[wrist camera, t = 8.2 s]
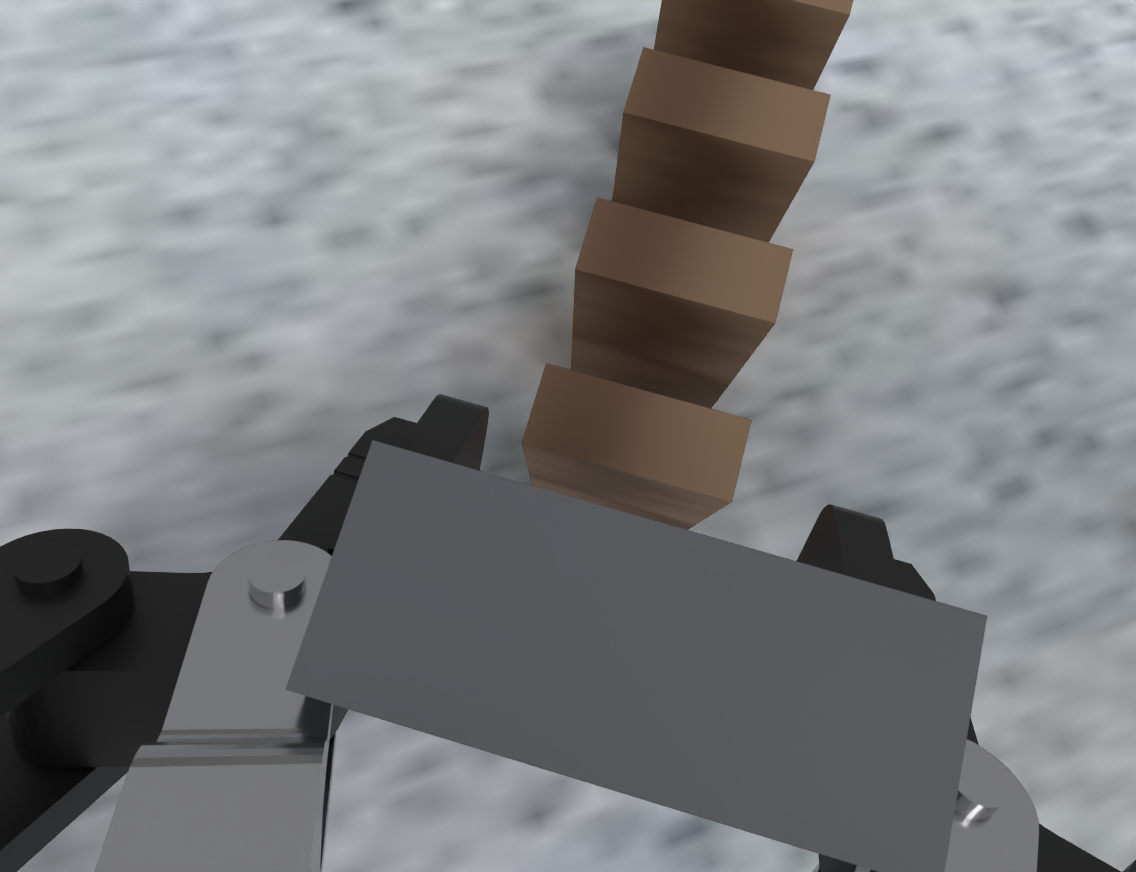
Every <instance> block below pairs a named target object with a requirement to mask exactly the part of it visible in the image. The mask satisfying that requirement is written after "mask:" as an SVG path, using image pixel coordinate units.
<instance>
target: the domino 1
mask: <svg viewBox="0 0 1136 872" xmlns="http://www.w3.org/2000/svg"><path fill="white" fill-rule="evenodd" d="M852 3H853V0H662V3H661V9H660V15H659V21H658V27H657V33H656V39H655V45H654V50H656V51H660V52H664V53H668V54H672V55H676V56H680V57H684V58H688V59H692V60H696V61H700V62H704V63H707V64H711V65H715V66H719V67H723V68H727V69H731V70H735V71H739V72H743V73H747V74H751V75H755V76H759V77H763V78H767V79H770V80H774V81H778V82H782V83H786V84H790V85H794V86H798V87H802V88H806V89H810V90H813V89H814V87H815V85H816V83H817V81H818V79H819V77H820V75H821V73H822V71H823V69H824V67H825V65H826V63H827V61H828V58H829V56H830V54H831V52H832V50H833V48H834V46H835V44H836V42H837V40H838V38H839V36H840V34H841V32H842V30H843V28H844V26H845V23H846V21H847V19H848V17H849V15H850V12H851V8H852Z"/></svg>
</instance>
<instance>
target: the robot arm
mask: <svg viewBox="0 0 1136 872" xmlns="http://www.w3.org/2000/svg"><path fill="white" fill-rule="evenodd" d="M488 417H489V410H488V408H487V407H484V406H480V405H476V404H473V403H469V402H466V401H462V400H459V399H455V398H451V397H448V396H444V395H441V394H439V395H437V396H436V398H435V399H434V400H433V402H432V403H431V404H430V406H429V407H428V409H427V410H426V411H425V413H424V414H423V416H422V417H421V418H420V420H419V421H418V423H414V422H411V421H407V420H403V419H400V418H396V417H393V418H391V419H389V420H387V421H385V422H383V423H382V424H380V425H378V426H376V427H374V428H372V429H370V430H368V431H366V432H365V433H364V434H363V436H362V437H361V438H360V439H359V440H358V442H357V443H356V444H355V445H354V447H353V448H352V449H351V450H350V452H349V454H348V457H345V458H344V459H343V460H342V461H341V463H340V464H339V465H338V466H337V468H336V469H335V470H334V474H333V475H330V476H329V478H328V479H327V480H326V481H325V482H324V484H323V485H322V486H321V487H320V489H319V490H318V491H317V492H316V494H315V495H314V496H313V497H312V499H311V500H310V501H309V502H308V503H307V505H306V506H305V507H304V508H303V510H302V511H301V512H300V513H299V515H298V516H297V517H296V518H295V520H294V521H293V522H292V523H291V524H290V526H289V527H288V528H287V529H286V531H285V532H284V533H283V534H282V536H281V537H280V538H279V539H278V540H275V541H267V542H261V543H257V544H253V545H250V546H248V547H245V548H242V549H240V550H238V551H236V552H234V553H233V554H231V555H230V556H228V557H227V558H225V559H224V560H223V561H222V562H221V563H220V564H219V565H218V566H217V567H216V568H215V570H214V571H213V572H208V573H167V572H138V571H130V569H129V562H128V556H127V554H126V552H125V550H124V549H123V547H122V546H121V545H120V544H119V543H118V542H116V541H115V540H113V539H112V538H110V537H108V536H106V535H104V534H101V533H98V532H94V531H90V530H83V529H55V530H48V531H42V532H38V533H34V534H30V535H27V536H24V537H21V538H18V539H16V540H13V541H11V542H9V543H7V544H5V545H3V546H1V547H0V872H17V871H18V870H19V869H20V868H21V867H22V866H23V865H24V864H26V863H27V862H28V861H29V860H30V859H31V858H32V857H33V856H35V855H36V854H37V853H38V852H39V851H40V850H41V849H42V848H43V847H45V846H46V845H47V844H48V843H49V842H50V841H51V840H52V839H53V838H55V837H56V836H57V835H58V834H59V833H60V832H61V831H62V830H64V829H65V828H66V827H67V826H68V825H69V824H70V823H71V822H72V821H74V820H75V819H76V818H77V817H78V816H79V815H80V814H81V813H82V812H84V811H85V810H86V809H87V808H88V807H89V806H90V805H91V804H92V803H94V802H95V801H96V800H97V799H98V798H99V797H100V796H101V795H103V794H104V793H105V792H106V791H107V790H108V789H109V788H110V787H111V786H113V785H114V784H115V783H116V782H117V781H118V780H119V779H120V778H121V777H123V776H124V775H125V774H126V773H127V772H128V774H127V776H126V779H125V782H124V785H123V788H122V791H121V794H120V797H119V800H118V803H117V806H116V809H115V812H114V815H113V818H112V821H111V824H110V827H109V830H108V833H107V836H106V839H105V842H104V845H103V848H102V851H101V854H100V857H99V860H98V863H97V866H96V869H95V872H322V869H323V859H324V849H325V840H326V830H327V820H328V810H329V801H330V791H331V781H332V772H333V762H334V752H335V742H336V731H337V729H338V727H339V726H340V724H341V722H342V720H343V718H344V716H345V714H346V712H347V711H348V709H347V708H343V707H340V706H337V705H334V704H330V703H327V702H324V701H321V700H317V699H314V698H311V697H307V696H304V695H301V694H298V693H294V692H291V691H288V690H285V689H286V686H287V683H288V680H289V678H290V675H291V672H292V669H293V666H294V663H295V660H296V658H297V655H298V652H299V649H300V646H301V643H302V640H303V638H304V635H305V632H306V629H307V626H308V623H309V620H310V617H311V615H312V612H313V609H314V606H315V603H316V600H317V597H318V595H319V592H320V589H321V586H322V583H323V580H324V577H325V575H326V572H327V569H328V566H329V563H330V560H331V557H332V555H333V552H334V549H335V546H336V543H337V540H338V537H339V535H340V532H341V529H342V526H343V523H344V520H345V517H346V515H347V512H348V509H349V506H350V503H351V500H352V497H353V495H354V492H355V489H356V486H357V483H358V480H359V477H360V475H361V472H362V469H363V466H364V463H365V460H366V457H367V455H368V452H369V449H370V446H371V443H372V440H374V441H377V442H381V443H384V444H388V445H391V446H395V447H398V448H402V449H405V450H409V451H412V452H416V453H419V454H423V455H426V456H430V457H433V458H437V459H440V460H444V461H447V462H451V463H454V464H458V465H461V466H465V467H468V468H472V469H475V470H479V471H480V465H481V460H482V454H483V448H484V442H485V436H486V430H487V424H488ZM797 562H800V563H804V564H807V565H811V566H814V567H818V568H821V569H825V570H828V571H832V572H835V573H839V574H842V575H846V576H849V577H853V578H856V579H860V580H863V581H867V582H870V583H874V584H877V585H881V586H884V587H888V588H891V589H895V590H898V591H902V592H905V593H909V594H912V595H916V596H919V597H923V598H926V599H930V600H933V601H936V599H935V596H934V593H933V592H932V591H931V589H930V588H929V587H928V585H927V584H926V583H925V581H924V580H923V579H922V577H921V576H920V575H919V573H918V572H917V571H916V569H915V568H914V567H913V565H912V564H909V563H906V562H902V561H899V560H895V559H894V558H893V554H892V550H891V545H890V541H889V537H888V533H887V529H886V525H885V523H884V521H883V520H882V519H880V518H877V517H873V516H870V515H866V514H862V513H859V512H855V511H852V510H848V509H845V508H841V507H837V506H834V505H827V506H826V507H825V508H824V509H823V510H822V512H821V513H820V515H819V517H818V519H817V521H816V523H815V525H814V527H813V529H812V531H811V533H810V535H809V537H808V539H807V541H806V543H805V545H804V547H803V549H802V551H801V553H800V555H799V557H798V559H797ZM813 872H878V871H874V870H871V869H868V868H865V867H861V866H858V865H855V864H851V863H848V862H845V861H842V860H838V859H835V858H832V857H829V856H825V855H822V854H819V863H818V865H817V866H816V867H815V869H814V870H813ZM945 872H1120V871H1119V870H1117V869H1115V868H1114V867H1112V866H1110V865H1108V864H1107V863H1105V862H1103V861H1101V860H1100V859H1098V858H1096V857H1094V856H1093V855H1091V854H1089V853H1087V852H1086V851H1084V850H1082V849H1080V848H1079V847H1077V846H1075V845H1073V844H1072V843H1070V842H1068V841H1066V840H1065V839H1063V838H1061V837H1059V836H1058V835H1056V834H1054V833H1053V832H1051V831H1050V830H1048V829H1047V828H1045V827H1043V826H1042V825H1041V824H1039V821H1038V817H1037V813H1036V810H1035V808H1034V805H1033V803H1032V800H1031V798H1030V797H1029V795H1028V793H1027V792H1026V790H1025V788H1024V787H1023V786H1022V784H1021V783H1020V781H1019V780H1018V779H1017V778H1016V776H1015V775H1014V774H1013V773H1012V772H1011V771H1010V770H1009V769H1008V768H1007V767H1006V766H1005V765H1004V764H1003V763H1002V762H1001V761H1000V760H999V759H998V758H996V757H995V756H994V755H992V754H991V753H990V752H988V751H987V750H985V749H984V748H982V747H981V746H979V745H978V741H977V738H976V734H975V731H974V728H973V724H972V721H971V717H970V721H969V727H968V733H967V739H966V745H965V751H964V757H963V763H962V769H961V775H960V782H959V788H958V794H957V800H956V806H955V812H954V818H953V824H952V830H951V836H950V842H949V848H948V854H947V860H946V866H945ZM1123 872H1136V860H1135V861H1134V862H1133V863H1132V864H1131V865H1129V866H1128V867H1127V868H1126V869H1125V870H1124V871H1123Z"/></svg>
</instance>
